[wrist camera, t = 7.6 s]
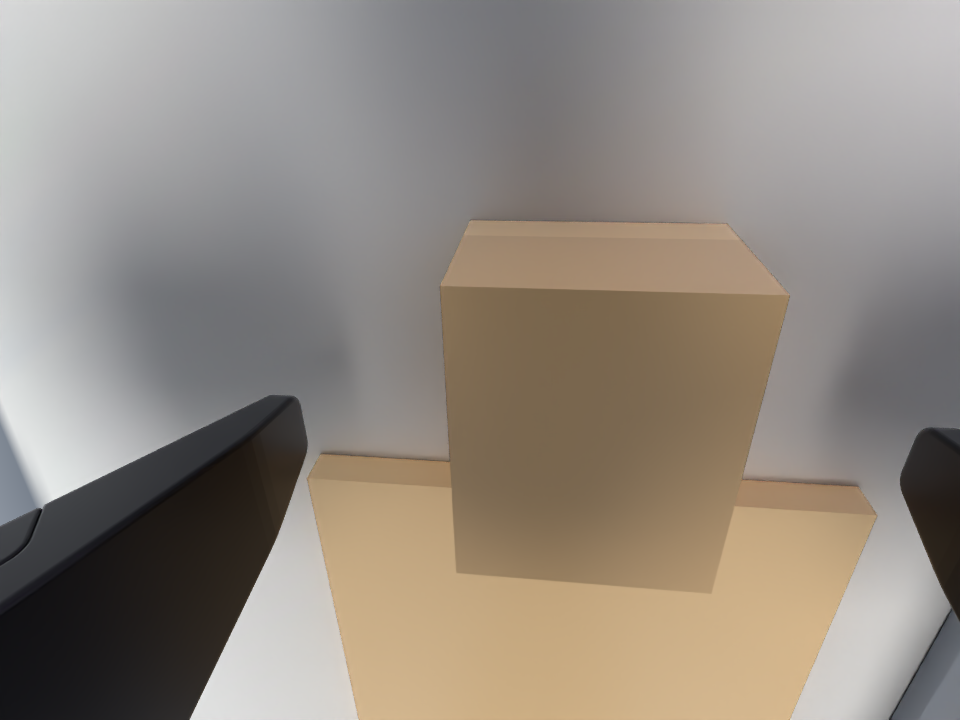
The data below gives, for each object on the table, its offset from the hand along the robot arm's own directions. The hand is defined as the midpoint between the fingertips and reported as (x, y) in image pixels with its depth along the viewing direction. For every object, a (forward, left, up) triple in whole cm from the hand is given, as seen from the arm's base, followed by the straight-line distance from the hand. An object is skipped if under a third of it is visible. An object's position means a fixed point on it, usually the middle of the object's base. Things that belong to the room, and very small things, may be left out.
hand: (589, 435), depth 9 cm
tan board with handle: (-7, 0, -2) cm, 8 cm away
